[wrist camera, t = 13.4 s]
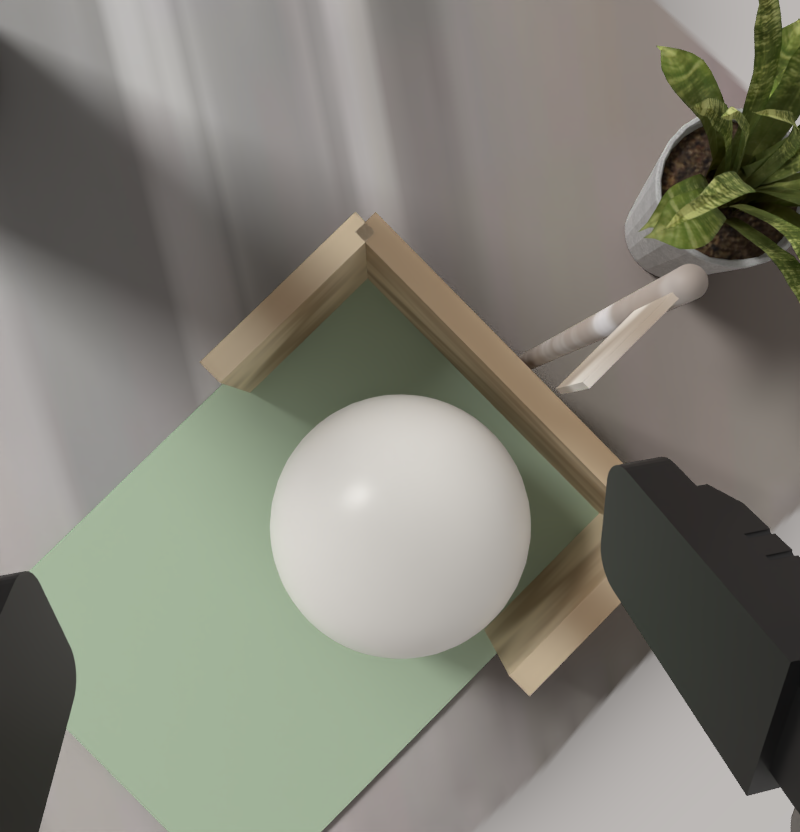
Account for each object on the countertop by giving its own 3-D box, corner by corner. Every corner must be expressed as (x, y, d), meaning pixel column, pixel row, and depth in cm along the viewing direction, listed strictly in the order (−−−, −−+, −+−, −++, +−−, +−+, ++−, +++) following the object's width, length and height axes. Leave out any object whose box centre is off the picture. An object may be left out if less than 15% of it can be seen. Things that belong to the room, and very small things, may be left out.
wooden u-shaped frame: (500, 646, 34) (674, 946, 14) (233, 375, 34) (27, 292, 14) (646, 498, 35) (1014, 586, 15) (383, 231, 34) (389, -50, 14)
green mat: (246, 904, 34) (245, 909, 33) (-28, 628, 34) (-32, 629, 33) (633, 511, 35) (635, 511, 34) (369, 243, 35) (369, 241, 34)
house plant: (642, 441, 35) (874, 446, 19) (475, 236, 35) (559, 62, 19) (845, 271, 36) (1242, 132, 19) (681, 69, 36) (938, -240, 19)
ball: (459, 477, 20) (527, 340, 29) (173, 488, 24) (309, 367, 33) (526, 737, 24) (567, 547, 33) (272, 705, 29) (369, 546, 38)
